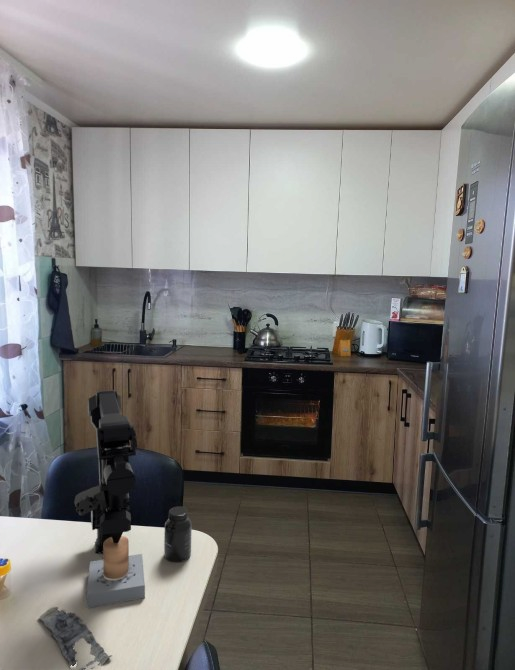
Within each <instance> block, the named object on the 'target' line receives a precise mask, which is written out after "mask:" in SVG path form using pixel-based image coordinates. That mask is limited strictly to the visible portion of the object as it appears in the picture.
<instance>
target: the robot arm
mask: <svg viewBox="0 0 515 670" xmlns="http://www.w3.org/2000/svg"><path fill="white" fill-rule="evenodd" d="M122 410H123V408H122V396H121V395H120V394H118V392H117V390H114V389H108V390H107V389H106V390H99V391H96V392H95V394H94V395H92V396H91V397H89V398H88V400H87V417H90V423H91V425H92V426H93V428H94V430H95V434H96V435H95V438H96V450H97V458H98V476H99V479H98V481H99V485H97V486H92V487H91V488H89V489H85V490H83V491H81V492H79V493H78V494H76V495H75V496H74V497H75V498H74V505H75V508H76V509H75V513H78V515H79V516H85V515H86V514H88V513H90V522H91V529H92V531H95V530H96V532H97V533H96V535H97V536H96V539H95V548H94V549H95V550H94V552H95V554H100V553H103V543H104V541H105V540H106V539H108V538H110V537H112V539H113V543H118V542H119V540H120V538H121V536H123V533H128V532H130V531H131V530H132V517H131V515H132V514H131V512H130V492H131V491H132V490H133V489H134V488H135V484H136V481H137V480H136V476H135V473H134V471H133V468H132V466H131V463H130V461H129V459H130V457H134V456H137V455H136V454H137V452H136V450H138V448H139V446H138V441H137V433H136V429H135V428H134V425H133V424H130V423H131V421H130V420H129V418H128V416H125V415H122V414H121V413H122Z"/></svg>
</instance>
